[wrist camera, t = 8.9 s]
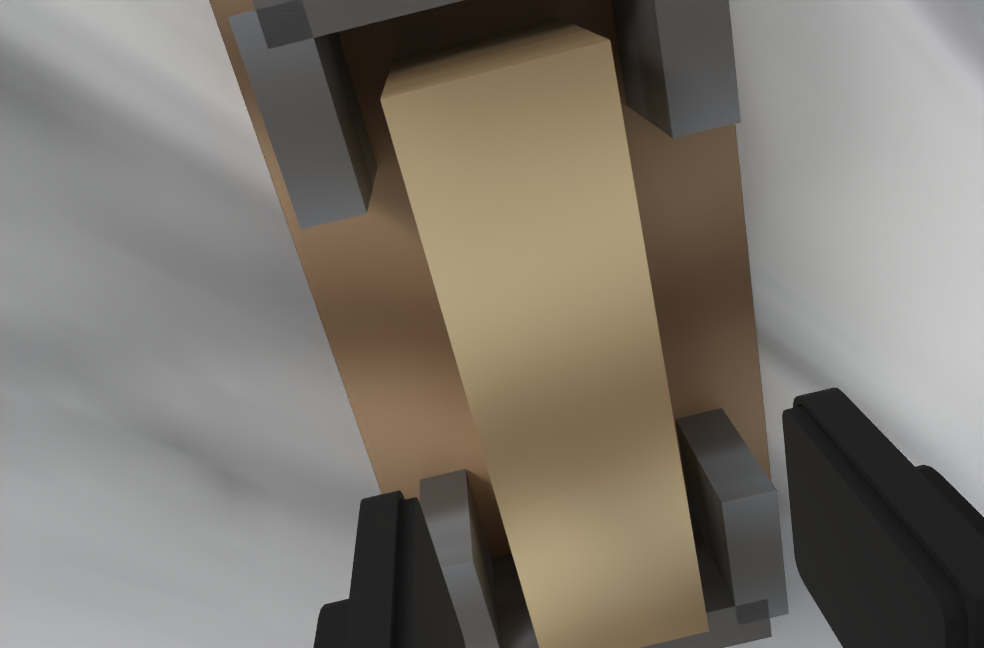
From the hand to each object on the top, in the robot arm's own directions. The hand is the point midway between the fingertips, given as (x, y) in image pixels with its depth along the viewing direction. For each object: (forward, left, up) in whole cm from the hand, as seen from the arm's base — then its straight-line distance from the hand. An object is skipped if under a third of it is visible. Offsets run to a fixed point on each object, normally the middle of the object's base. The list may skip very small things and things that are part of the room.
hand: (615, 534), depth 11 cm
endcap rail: (0, 0, -9) cm, 9 cm away
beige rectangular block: (0, 0, -8) cm, 8 cm away
